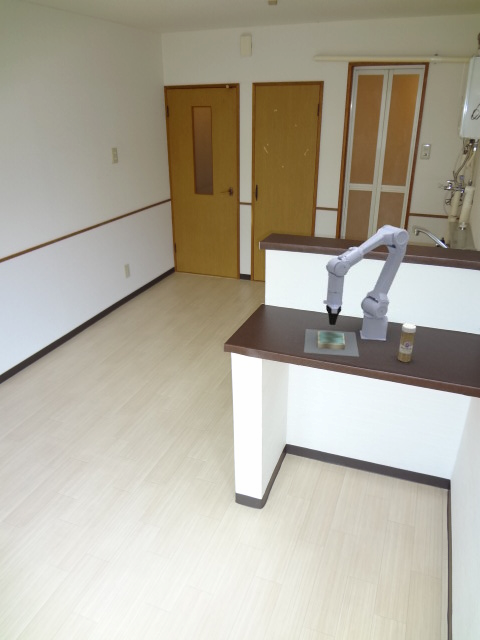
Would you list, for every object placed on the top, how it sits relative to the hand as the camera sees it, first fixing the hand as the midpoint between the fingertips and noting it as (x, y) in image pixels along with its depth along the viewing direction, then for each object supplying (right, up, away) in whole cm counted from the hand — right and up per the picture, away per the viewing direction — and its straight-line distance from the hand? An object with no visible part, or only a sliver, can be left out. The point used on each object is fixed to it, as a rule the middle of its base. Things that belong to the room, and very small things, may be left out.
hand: (332, 324), depth 175 cm
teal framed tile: (+1, -4, +7) cm, 8 cm away
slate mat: (0, -7, +3) cm, 8 cm away
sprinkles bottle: (+24, -13, -10) cm, 29 cm away
